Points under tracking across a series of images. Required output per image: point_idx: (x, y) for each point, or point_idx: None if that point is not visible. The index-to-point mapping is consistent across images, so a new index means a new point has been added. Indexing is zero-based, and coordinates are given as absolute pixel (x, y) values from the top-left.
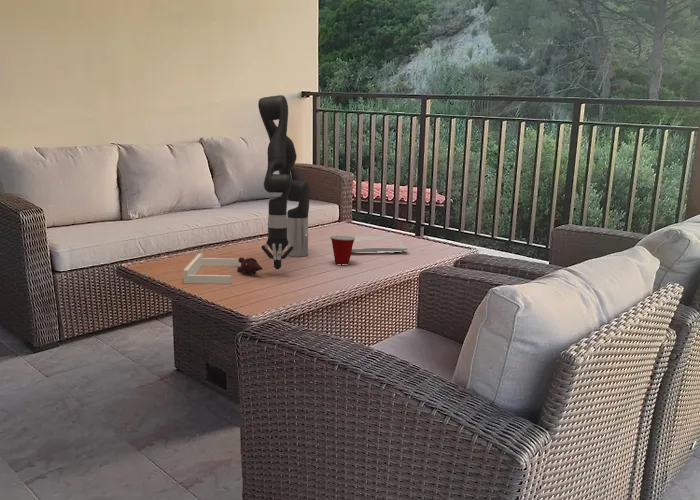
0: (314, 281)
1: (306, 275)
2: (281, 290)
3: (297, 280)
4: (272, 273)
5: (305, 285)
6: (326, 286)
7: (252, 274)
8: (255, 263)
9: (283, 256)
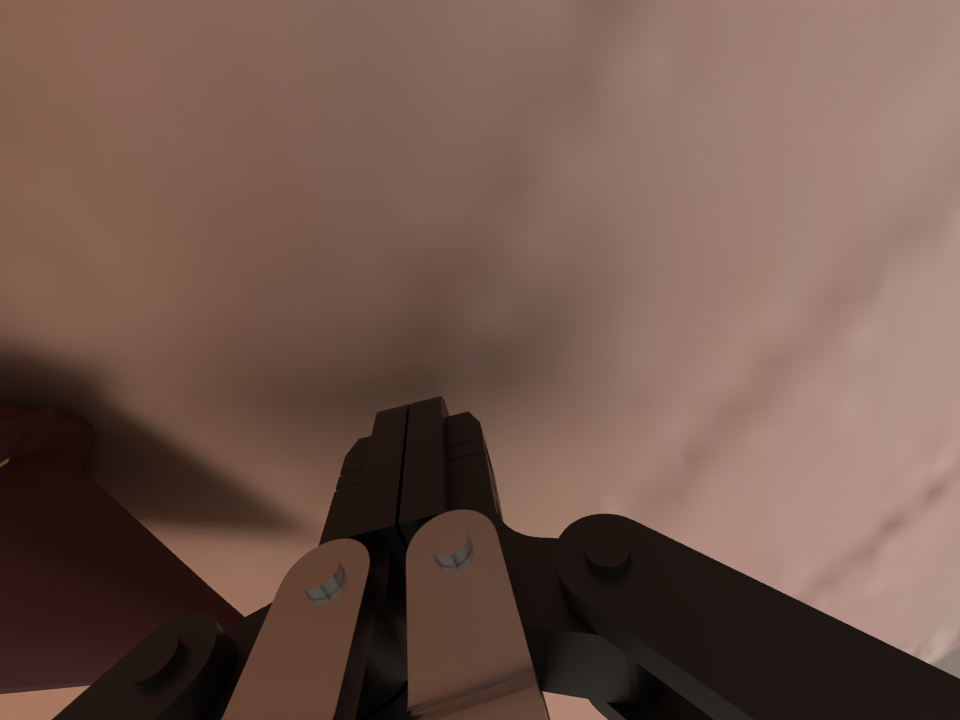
0: (875, 462)
1: (812, 265)
2: None
3: (701, 486)
4: (315, 319)
5: (777, 579)
6: (952, 548)
7: (86, 452)
8: (45, 682)
9: (620, 704)
